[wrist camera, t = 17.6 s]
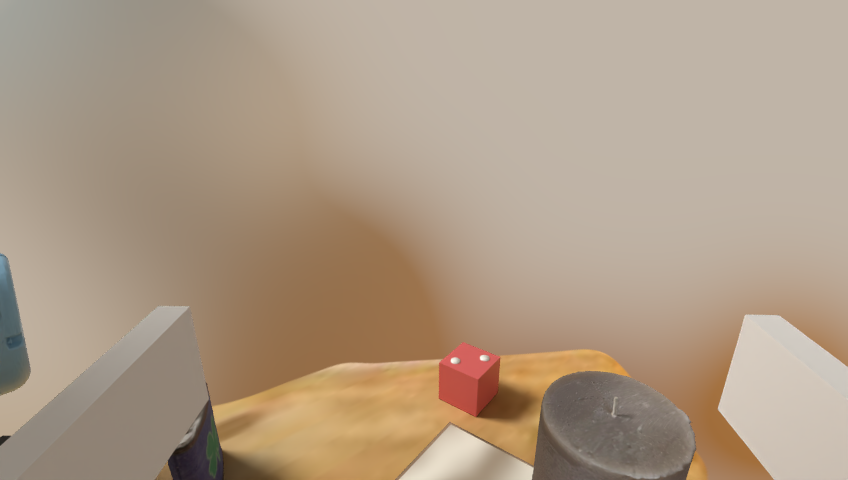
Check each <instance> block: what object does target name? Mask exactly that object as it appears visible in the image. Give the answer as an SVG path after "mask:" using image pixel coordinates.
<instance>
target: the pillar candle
mask: <svg viewBox="0 0 848 480" xmlns="http://www.w3.org/2000/svg"><path fill="white" fill-rule="evenodd" d="M690 423H691V421H690V420H689V417H688V416H687V415H686V414H685V413H684V412H683V411H682V410H679V409H678V408H677V407H676V406H675V405H674V404H673V403H672V402H671V401H670V400H669V399H667V398H666V397H665V396H664V395H662V394H661V393H659V392H657V391H656V390H654V389H653V388H651V387H649V386H648V385H645V384H643V383H641V382H639V381H636V380H635V379H632V378H630V377H627V376H622V375H618V374H614V373H608V372H598V371H585V372H577V373H572V374H570V375H566V376H563V377H561V378H559V379H558V380H556V381H554V382H553V383H552V384H551V385H550V387H549V388H548V389H547V391H546V392H545V394H544V397H543V401H542V406H541V413H540V421H539V430H538V438H537V446H536V455H535V462H534V469H533V475H532V480H686V477H687V474H688V471H689V468H690V464H691V462H692V459H693V456H694V452H695V451H696V445H695V434H694V432H693V430H692V428H691V425H690Z"/></svg>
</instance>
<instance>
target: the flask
mask: <svg viewBox="0 0 848 480" xmlns="http://www.w3.org/2000/svg"><path fill="white" fill-rule="evenodd" d="M206 387H207V383H206ZM207 391H208V387H207ZM208 396H209V391H208ZM223 464H224V463H223V454H222V449H221V446H220V443H219V438H218V434H217V430H216V425H215V421H214V416H213V410H212V406H211V401H210V396H209V400H208V401H207V403H206V404H205V406H204V407H203V409H202V410H201V412H200V413H199V415H198V416H197V418H196V419H195V421H194V422H193V424H192V425H191V427H190V428H189V430H188V431H187V433H186V434H185V436H184V437H183V439H182V440H181V442H180V443H179V444H178V446H177V447H176V449H175V450H174V452H173V453H172V455H171V456H170V458H169V459H168V465H169V469H170V471H171V475H172V477H173V480H224V479H223V476H224V473H223V472H224V470H223V469H224V468H223Z"/></svg>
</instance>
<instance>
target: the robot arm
mask: <svg viewBox="0 0 848 480" xmlns="http://www.w3.org/2000/svg"><path fill="white" fill-rule="evenodd" d="M30 372H31V371H30V364H29V358H28V354H27V348H26V344H25V338H24V334H23V329H22V324H21V319H20V314H19V309H18V304H17V300H16V294H15V290H14V285H13V280H12V275H11V270H10V265H9V261H8V258H7V257H6V256H5V255H3V254H1V253H0V396H1V395H3V394H6V393H9V392H12V391H14V390H16V389H18V388H20V387H21V386H22V385H23V384H25V382H26V381H27V380H28V378H29V376H30ZM208 400H209V396H208V391H207V387H206V382H205V377H204V372H203V367H202V363H201V358H200V353H199V348H198V344H197V339H196V334H195V329H194V324H193V319H192V315H191V310H190V307H188V306H158V307H157V308H156V309H154V310H153V311H152V312H151V313H150V314H149V315H148V316H147V317H145V318H144V319H143V320H142V321H141V322H140V323H139V324H138V325H137V326H135V327H134V328H133V329H132V330H131V331H130V332H129V333H127V334H126V335H125V336H124V337H123V338H122V339H121V340H119V341H118V342H117V343H116V344H115V345H114V346H113V347H112V348H110V349H109V350H108V351H107V352H106V353H105V354H104V355H102V356H101V357H100V358H99V359H98V360H97V361H96V362H95V363H93V364H92V365H91V366H90V367H89V368H88V369H87V370H86V371H84V372H83V373H82V374H81V375H80V376H79V377H78V378H76V379H75V380H74V381H73V382H72V383H71V384H70V385H69V386H67V387H66V388H65V389H64V390H63V391H62V392H61V393H60V394H58V395H57V396H56V397H55V398H54V399H53V400H52V401H51V402H49V403H48V404H47V405H46V406H45V407H44V408H43V409H41V410H40V411H39V412H38V413H37V414H36V415H35V416H34V417H32V418H31V419H30V420H29V421H28V422H27V423H26V424H25V425H23V426H22V427H21V428H20V429H19V430H18V431H17V432H15V434H13V435H12V436H2V437H0V480H155V479H156V477H157V476H158V474H159V473H160V471H161V470H162V468H163V467H164V465H165V464H166V462H167V461H168V459H169V458H170V456H171V455H172V453H173V452H174V450H175V449H176V447H177V446H178V444H179V443H180V442H181V440H182V439H183V437H184V436H185V434H186V433H187V431H188V430H189V428H190V427H191V425H192V424H193V422H194V421H195V419H196V418H197V416H198V415H199V413H200V412H201V410H202V409H203V407H204V406H205V404H206V403H207V401H208ZM718 410H719V411H720V412H721V414H722V415H723V416H724V417H725V419H726V420H727V421H728V422H729V424H730V425H731V426H732V427H733V429H734V430H735V431H736V432H737V434H738V435H739V436H740V437H741V439H742V440H743V441H744V442H745V444H746V445H747V446H748V447H749V449H750V450H751V451H752V452H753V454H754V455H755V456H756V457H757V459H758V460H759V461H760V462H761V464H762V465H763V466H764V467H765V469H766V470H767V471H768V472H769V474H770V475H771V476H772V477H773V479H774V480H848V367H847V366H846V365H844V364H843V363H842V362H840V361H839V360H838V359H836V358H835V357H834V356H832V355H831V354H830V353H828V352H827V351H826V350H824V349H823V348H822V347H820V346H819V345H818V344H816V343H815V342H814V341H812V340H811V339H810V338H808V337H807V336H806V335H804V334H803V333H802V332H800V331H799V330H798V329H796V328H795V327H794V326H792V325H791V324H790V323H788V322H787V321H785V320H784V319H783V318H782V317H780V316H779V315H745V318H744V321H743V325H742V328H741V331H740V335H739V339H738V342H737V345H736V349H735V352H734V356H733V359H732V362H731V366H730V369H729V373H728V376H727V380H726V383H725V386H724V390H723V393H722V397H721V400H720V404H719V407H718Z"/></svg>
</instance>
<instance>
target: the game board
mask: <svg viewBox="0 0 848 480" xmlns="http://www.w3.org/2000/svg"><path fill="white" fill-rule="evenodd" d="M533 469H534V466H533V465H531V464H529V463H527V462H525V461H524V460H522V459H520V458H518V457H516V456H514V455H512V454H510V453H508V452H506V451H504V450H502V449H501V448H499V447H497V446H495V445H493V444H491V443H489V442H487V441H485V440H483V439H481V438H480V437H478V436H476V435H474V434H472V433H470V432H468V431H466V430H464V429H462V428H460V427H458V426H457V425H455V424H453V423H451V422H449V423H448V424H447V425H446V426H445V428H444V429H443V430H442V431H441V432H440V433H439V434H438V435H437V436H436V437H435V438H434V439H433V440H432V441H431V442H430V443H429V444H428V445H427V447H426V448H425V449H424V450H423V451H422V452H421V453H420V454H419V455H418V456H417V457H416V458H415V459H414V460H413V461H412V462H411V463H410V464H409V465H408V467H407V468H406V469H405V470H404V471H403V472H402V473H401V474H400V475H399V476H398V477H397V478H396V479H395V480H532V475H533Z"/></svg>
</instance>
